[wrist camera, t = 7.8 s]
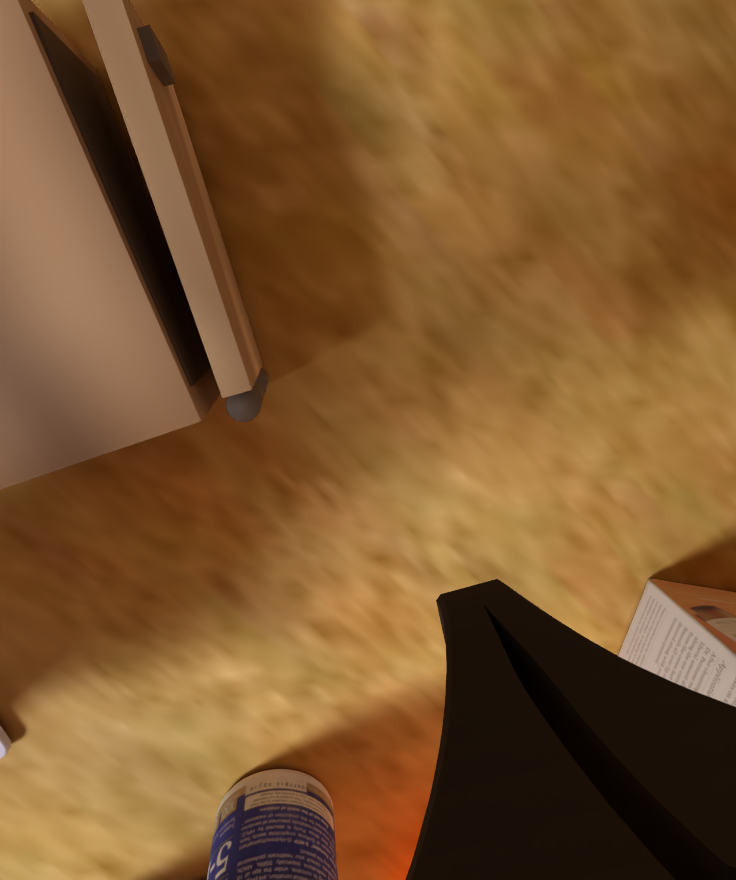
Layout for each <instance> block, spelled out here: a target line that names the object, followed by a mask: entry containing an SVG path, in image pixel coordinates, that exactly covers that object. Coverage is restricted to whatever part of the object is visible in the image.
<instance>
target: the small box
mask: <svg viewBox="0 0 736 880" xmlns="http://www.w3.org/2000/svg"><path fill="white" fill-rule="evenodd" d="M618 656H619V657H621V658H623V659H625V660H627V661H629V662H631V663H633V664H635V665H637V666H639V667H641V668H643V669H646V670H648V671H650V672H652V673H654V674H656V675H658V676H661V677H663V678H665V679H667V680H669V681H671V682H674V683H676V684H679V685H681V686H683V687H686V688H688V689H691V690H693V691H695V692H698V693H701V694H703V695H706V696H708V697H711V698H714V699H716V700H719V701H722V702H724V703H727V704H730V705H732V706H735V707H736V592H731V591H725V590H719V589H713V588H707V587H700V586H694V585H688V584H682V583H675V582H669V581H665V580H659V579H649V580H648V581H647V584H646V586H645V589H644V592H643V594H642V597H641V599H640V602H639V605H638V607H637V610H636V612H635V615H634V617H633V620H632V622H631V625H630V627H629V630H628V632H627V634H626V637H625V639H624V642H623V644H622V647H621V649H620V652H619V654H618Z"/></svg>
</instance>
